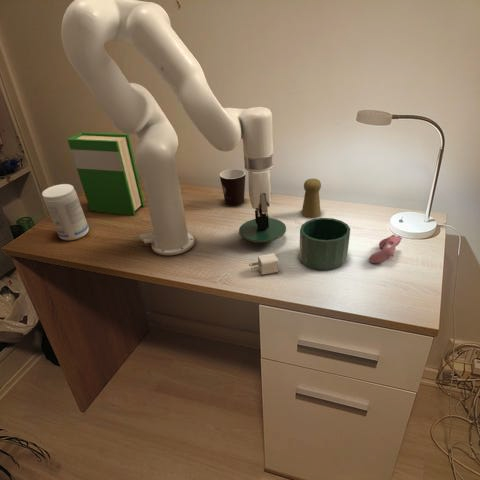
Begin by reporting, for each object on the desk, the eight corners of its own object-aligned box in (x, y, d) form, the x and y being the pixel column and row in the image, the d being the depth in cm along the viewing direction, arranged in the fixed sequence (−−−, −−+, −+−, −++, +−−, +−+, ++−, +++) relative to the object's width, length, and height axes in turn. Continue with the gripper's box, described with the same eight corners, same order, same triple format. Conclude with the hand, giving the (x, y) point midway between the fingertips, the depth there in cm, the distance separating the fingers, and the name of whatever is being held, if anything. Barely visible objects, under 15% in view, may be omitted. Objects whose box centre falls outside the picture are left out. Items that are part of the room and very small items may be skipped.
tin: (305, 272, 108) (306, 244, 102) (295, 248, 117) (295, 220, 112) (353, 267, 108) (356, 238, 103) (339, 243, 118) (341, 215, 112)
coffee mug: (247, 207, 139) (245, 178, 133) (221, 208, 140) (218, 179, 133) (247, 192, 148) (245, 164, 142) (223, 194, 148) (220, 166, 142)
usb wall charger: (278, 273, 108) (278, 259, 106) (252, 277, 107) (251, 264, 105) (274, 265, 111) (273, 252, 109) (248, 269, 110) (248, 256, 108)
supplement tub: (88, 224, 137) (73, 181, 128) (90, 237, 130) (75, 192, 121) (58, 231, 135) (41, 187, 125) (58, 244, 128) (41, 199, 118)
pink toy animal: (380, 271, 108) (397, 253, 103) (366, 260, 109) (382, 242, 104) (391, 253, 115) (408, 235, 109) (378, 243, 115) (393, 225, 110)
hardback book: (144, 205, 145) (128, 134, 130) (134, 215, 140) (115, 141, 125) (102, 201, 150) (81, 132, 135) (90, 210, 145) (67, 139, 130)
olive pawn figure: (320, 218, 130) (322, 184, 123) (300, 217, 131) (301, 184, 124) (321, 209, 134) (323, 176, 127) (302, 209, 135) (303, 176, 128)
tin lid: (242, 247, 115) (239, 223, 110) (237, 224, 125) (234, 202, 121) (290, 240, 115) (290, 217, 111) (281, 218, 126) (281, 196, 121)
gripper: (241, 152, 113) (245, 214, 125) (248, 174, 101) (252, 241, 113) (268, 149, 113) (270, 211, 125) (278, 170, 101) (280, 237, 113)
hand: (262, 225), depth 119 cm, fingers closed on tin lid, 2 cm apart
